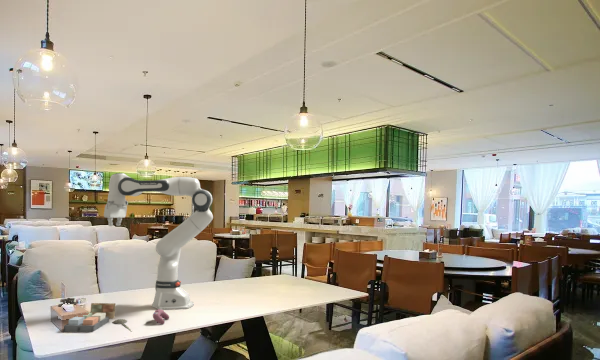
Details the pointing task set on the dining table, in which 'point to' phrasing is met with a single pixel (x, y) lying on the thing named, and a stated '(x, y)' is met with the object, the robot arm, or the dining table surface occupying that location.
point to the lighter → (67, 301)
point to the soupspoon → (121, 321)
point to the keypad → (85, 326)
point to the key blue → (76, 321)
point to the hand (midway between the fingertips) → (114, 225)
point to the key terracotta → (90, 321)
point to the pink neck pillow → (160, 316)
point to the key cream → (99, 316)
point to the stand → (103, 309)
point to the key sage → (87, 315)
